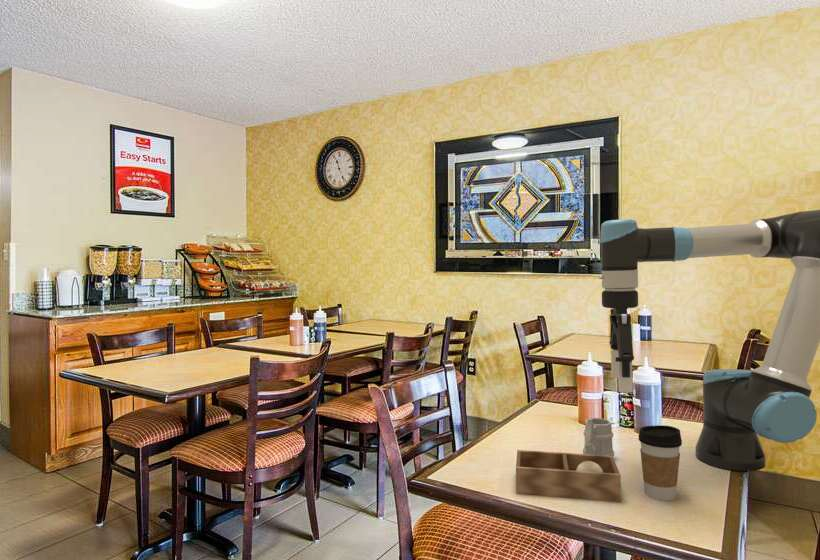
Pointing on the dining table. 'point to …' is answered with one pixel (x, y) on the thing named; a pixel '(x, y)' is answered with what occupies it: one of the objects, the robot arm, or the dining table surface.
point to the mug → (598, 437)
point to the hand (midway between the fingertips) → (621, 384)
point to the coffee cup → (660, 460)
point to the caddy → (567, 476)
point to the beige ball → (589, 467)
